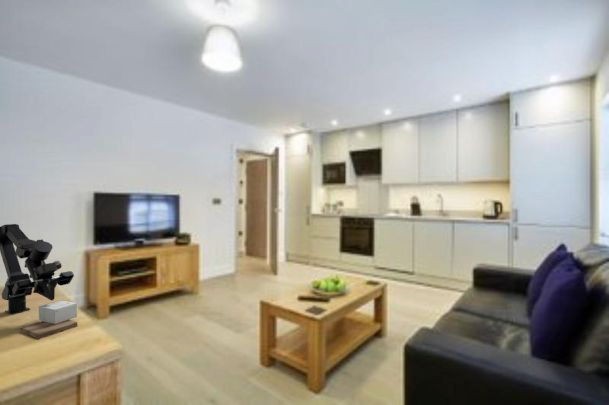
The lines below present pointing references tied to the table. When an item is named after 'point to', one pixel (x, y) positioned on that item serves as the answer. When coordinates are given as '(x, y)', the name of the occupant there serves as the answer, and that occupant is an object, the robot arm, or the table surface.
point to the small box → (57, 312)
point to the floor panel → (47, 328)
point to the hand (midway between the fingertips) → (52, 299)
